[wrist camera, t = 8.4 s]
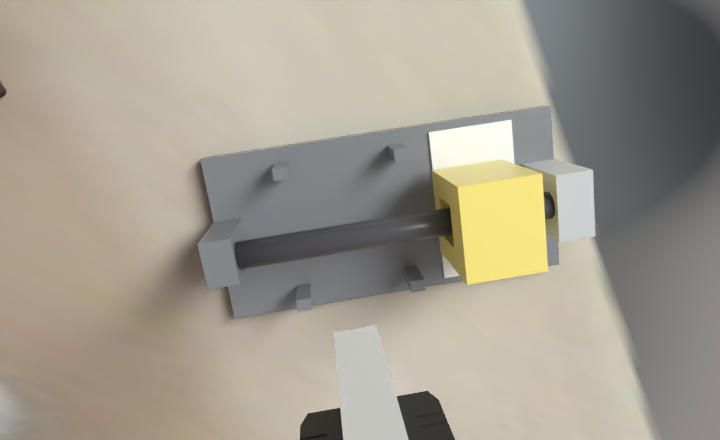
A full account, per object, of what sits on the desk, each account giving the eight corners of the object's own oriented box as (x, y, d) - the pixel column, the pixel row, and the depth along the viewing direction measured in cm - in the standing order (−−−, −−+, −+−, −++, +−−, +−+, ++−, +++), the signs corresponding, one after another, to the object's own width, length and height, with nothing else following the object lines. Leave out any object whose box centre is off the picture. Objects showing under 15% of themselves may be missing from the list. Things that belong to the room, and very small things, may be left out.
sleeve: (431, 170, 37) (457, 187, 30) (501, 159, 37) (542, 173, 31) (440, 251, 38) (467, 284, 32) (507, 240, 39) (548, 271, 32)
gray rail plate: (203, 157, 38) (180, 171, 31) (543, 106, 39) (590, 108, 32) (236, 312, 41) (222, 354, 34) (552, 259, 42) (597, 290, 35)
